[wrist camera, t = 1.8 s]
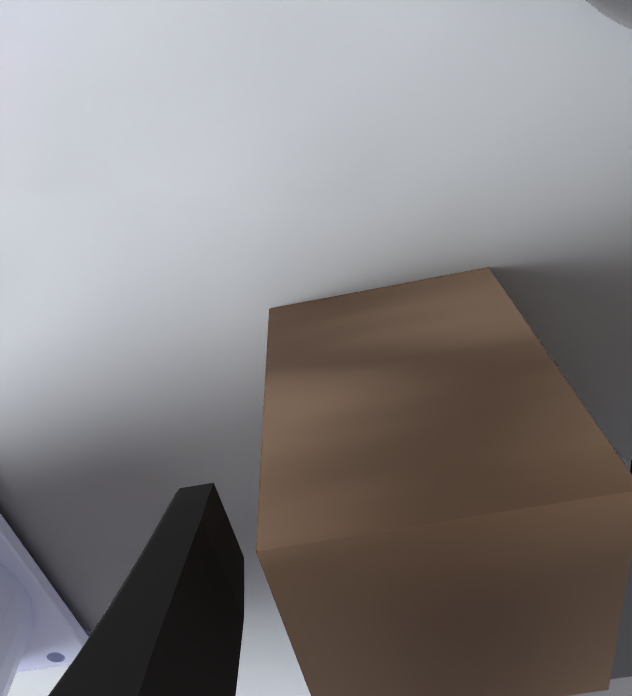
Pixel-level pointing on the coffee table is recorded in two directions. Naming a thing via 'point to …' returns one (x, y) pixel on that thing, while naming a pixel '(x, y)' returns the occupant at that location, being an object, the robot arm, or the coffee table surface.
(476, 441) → the walnut block
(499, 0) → the coffee table surface
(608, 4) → the supplement bottle
